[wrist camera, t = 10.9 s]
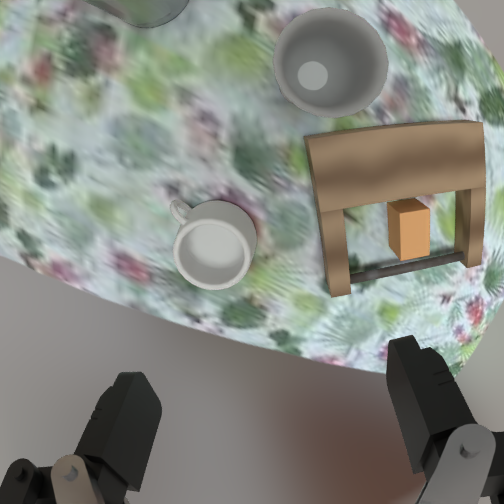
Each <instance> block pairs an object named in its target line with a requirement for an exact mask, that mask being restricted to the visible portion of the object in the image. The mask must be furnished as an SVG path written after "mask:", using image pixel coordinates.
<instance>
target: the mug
mask: <svg viewBox="0 0 504 504" xmlns="http://www.w3.org/2000/svg"><path fill="white" fill-rule="evenodd" d="M177 207H180V208H181V209H183V210H184V211H185V212H187V215H186V216H185V217H183V216H182V215H181V213H180V212H179V211H178V209H177ZM170 210H171V212H172V214H173V215H174V217H175V218H176V219H177V220H178V221H179V222H180V223H181V225H180V228H179V230H178V233H177V236H176V238H175V241H174V246H173V256H174V262H175V264H176V266H177V268H178V270H179V272H180V273H181V274H182V275H183V277H184V278H185V279H186V280H188V281H189V282H190V283H192V284H194V285H196V286H198V287H200V288H204V289H208V290H221V289H225V288H229V287H231V286H233V285H234V284H236V283H238V282H239V281H240V280H241V279H242V278H243V277H244V276H245V274H246V272H247V271H248V269H249V266H250V264H251V261H252V258H253V256H254V253H255V249H256V245H257V236H256V230H255V227H254V224H253V222H252V220H251V219H250V217H249V216H248V214H247V213H246V212H244V211H243V210H242V209H241V208H240V207H238V206H236V205H234V204H232V203H230V202H225V201H220V200H216V201H207V202H204V203H201V204H199V205H197V206H196V207H194V208H193V209H191V208H190V207H189V206H188V205H187V204H186V203H184V202H182V201H180V200H174V201H172V202H171V204H170Z"/></svg>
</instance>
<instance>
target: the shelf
mask: <svg viewBox="0 0 504 504" xmlns="http://www.w3.org/2000/svg"><path fill="white" fill-rule="evenodd" d="M304 141H305V146H306V151H307V156H308V162H309V167H310V173H311V179H312V185H313V191H314V197H315V203H316V209H317V216H318V222H319V229H320V236H321V243H322V250H323V258H324V265H325V273H326V281H327V285H328V288H329V291H330V295H331V298H332V297H337V296H343V295H348V294H351V287H350V284H353V283H358V282H363V281H368V280H373V279H378V278H383V277H388V276H393V275H398V274H402V273H407V272H412V271H416V270H421V269H426V268H430V267H435V266H439V265H443V264H448V263H452V262H456V261H460V262H461V263H462V264H463V265H464V266H465V267H466V268H470V267H474V266H478V265H481V259H482V249H483V238H484V224H485V201H486V167H485V144H484V130H483V123H482V122H476V121H470V120H449V121H430V122H416V123H404V124H393V125H383V126H373V127H365V128H357V129H349V130H341V131H334V132H327V133H321V134H314V135H308V136H304ZM451 191H456V222H455V246H454V253H451V254H447V255H442V256H438V257H433V258H428V259H424V260H419V261H414V262H409V263H405V264H400V265H395V266H390V267H385V268H380V269H375V270H370V271H365V272H359V273H354V274H349V262H348V251H347V242H346V232H345V223H344V215H343V209H344V208H350V207H355V206H361V205H367V204H374V203H380V202H386V201H392V200H398V199H405V198H411V197H417V196H424V195H431V194H437V193H444V192H451Z"/></svg>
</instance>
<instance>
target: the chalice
mask: <svg viewBox="0 0 504 504" xmlns="http://www.w3.org/2000/svg"><path fill="white" fill-rule="evenodd" d="M388 64H389V63H388V58H387V52H386V47H385V45H384V43H383V41H382V39H381V38H380V36H379V34H378V32H377V31H376V30H375V29H374V28H373V27H372V26H371V25H370V24H369V23H368V22H367V21H366V20H365V19H364V18H362V17H360V16H358V15H356V14H354V13H352V12H350V11H348V10H343V9H337V8H330V7H328V8H320V9H313V10H310V11H308V12H306V13H304V14H301V15H299V16H297V17H295V18H294V19H293V20H292V21H291V22H290V23H289V24H288V25H287V26H286V27H285V28H284V29H283V31H282V33H281V34H280V36H279V38H278V40H277V42H276V44H275V50H274V57H273V65H274V71H275V76H276V80H277V82H278V84H279V87H280V91H281V93H282V95H283V96H284V98H285V99H286V100H288V101H289V102H290V103H293V104H295V105H296V106H297V107H298V108H300V109H302V110H304V111H307V112H309V113H311V114H313V115H315V116H321V117H329V118H339V117H344V116H349V115H353V114H355V113H357V112H359V111H361V110H362V109H364V108H366V107H368V106H369V105H370V104H371V103H372V102H373V101H374V100H375V99H376V97H377V96H378V95H379V94H380V92H381V90H382V88H383V86H384V84H385V82H386V79H387V72H388Z"/></svg>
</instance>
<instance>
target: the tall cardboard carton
mask: <svg viewBox="0 0 504 504" xmlns="http://www.w3.org/2000/svg"><path fill="white" fill-rule="evenodd" d="M387 211H388V229H389V246H390V248H391V249H392V250H393V252H394V253H395V254H396V255H397V257H398V258H399V259H400V261H403V260H408V259H413V258H418V257H423V256H428V255H429V249H430V208H428V207H427V206H425V205H424V204H423V203H421V202H420V201H418V200H417V199H415V198H412V199H406V200H399V201H393V202H387Z"/></svg>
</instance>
